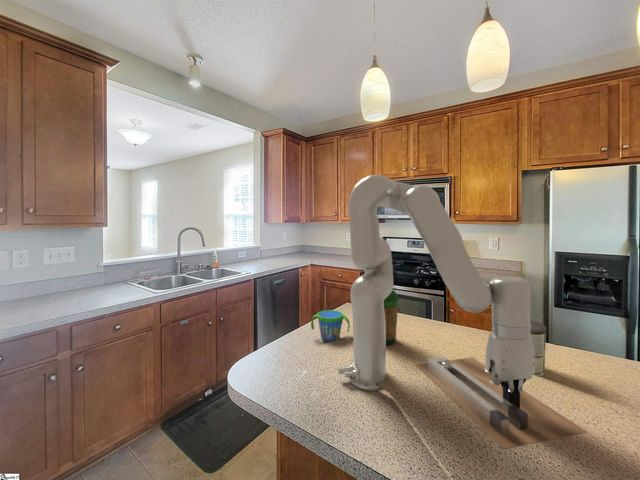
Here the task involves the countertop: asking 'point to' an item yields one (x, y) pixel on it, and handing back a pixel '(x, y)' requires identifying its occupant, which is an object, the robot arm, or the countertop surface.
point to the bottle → (391, 317)
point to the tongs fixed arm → (469, 396)
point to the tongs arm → (490, 396)
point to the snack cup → (330, 324)
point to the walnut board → (540, 416)
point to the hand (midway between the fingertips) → (511, 404)
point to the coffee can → (538, 346)
